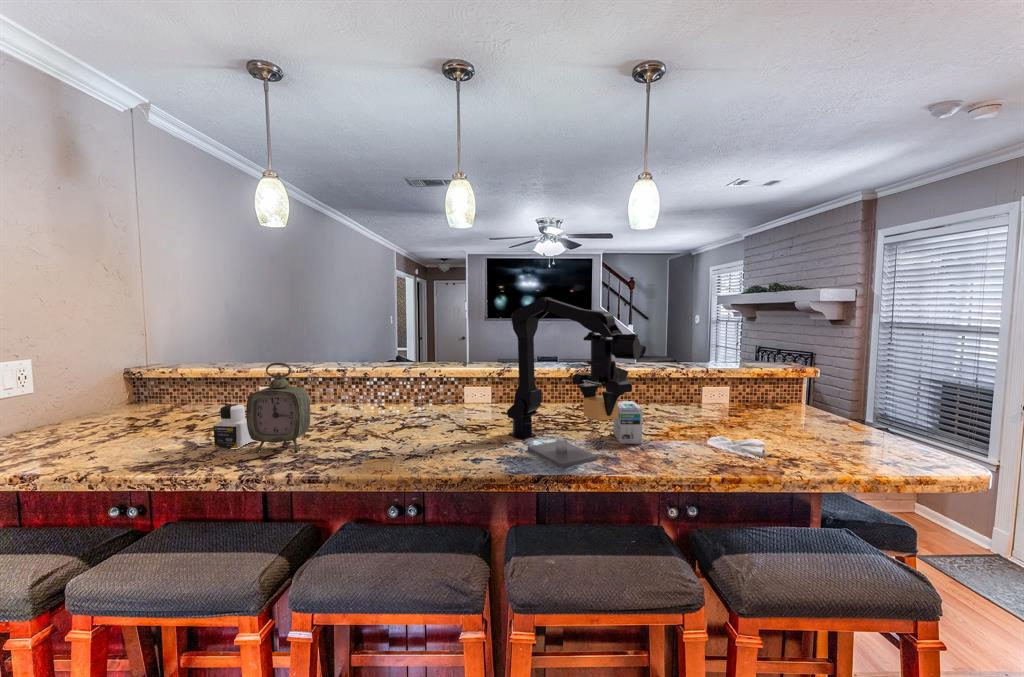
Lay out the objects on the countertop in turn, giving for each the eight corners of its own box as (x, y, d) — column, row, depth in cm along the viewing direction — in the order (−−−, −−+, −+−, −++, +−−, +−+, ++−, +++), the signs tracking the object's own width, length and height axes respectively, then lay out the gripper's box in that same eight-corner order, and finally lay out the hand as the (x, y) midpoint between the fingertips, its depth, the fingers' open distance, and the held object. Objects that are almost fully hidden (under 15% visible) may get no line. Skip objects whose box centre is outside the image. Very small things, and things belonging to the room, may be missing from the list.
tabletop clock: (247, 455, 125) (243, 364, 123) (264, 444, 134) (260, 360, 132) (301, 454, 126) (297, 364, 124) (314, 444, 135) (311, 360, 133)
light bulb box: (642, 444, 134) (643, 408, 133) (619, 444, 134) (620, 408, 133) (633, 434, 144) (634, 400, 144) (612, 433, 145) (612, 400, 144)
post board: (527, 450, 129) (527, 436, 128) (562, 443, 134) (562, 430, 134) (561, 467, 115) (561, 452, 114) (597, 459, 121) (598, 444, 120)
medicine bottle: (214, 449, 130) (211, 407, 130) (232, 441, 138) (230, 402, 137) (236, 450, 130) (234, 408, 129) (253, 442, 137) (252, 403, 136)
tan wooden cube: (583, 415, 128) (583, 398, 127) (601, 412, 131) (601, 395, 131) (599, 420, 122) (599, 402, 122) (617, 417, 125) (618, 399, 125)
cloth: (703, 437, 143) (703, 429, 143) (782, 444, 136) (783, 436, 136) (707, 457, 124) (708, 449, 124) (800, 467, 117) (801, 457, 116)
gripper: (647, 358, 121) (646, 416, 122) (601, 352, 137) (600, 403, 139) (616, 361, 116) (615, 422, 117) (571, 354, 132) (571, 407, 133)
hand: (600, 413), depth 127 cm, fingers closed on tan wooden cube, 7 cm apart
